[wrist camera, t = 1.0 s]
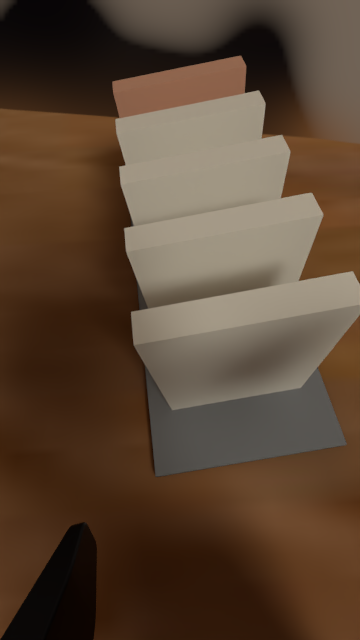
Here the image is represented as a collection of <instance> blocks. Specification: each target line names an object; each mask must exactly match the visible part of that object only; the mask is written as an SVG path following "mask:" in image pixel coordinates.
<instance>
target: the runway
mask: <svg viewBox="0 0 360 640" xmlns="http://www.w3.org/2000/svg"><path fill="white" fill-rule="evenodd" d="M131 226H132V227H133V226H134V224H133V221H132V218H131ZM137 288H138V299H139V309H140V310H144V309H148V307H147V304H146V302H145V299H144V297H143V294H142V291H141V289H140V286H139V284H138V281H137ZM145 371H146V382H147V392H148V403H149V413H150V423H151V434H152V444H153V455H154V465H155V475H156V477H160V476H166V475H172V474H177V473H183V472H189V471H195V470H201V469H207V468H213V467H219V466H225V465H231V464H237V463H243V462H249V461H255V460H261V459H267V458H273V457H278V456H284V455H290V454H296V453H302V452H308V451H314V450H320V449H326V448H332V447H338V446H344V445H347V444H346V441H345V438H344V436H343V433H342V430H341V428H340V425H339V422H338V420H337V417H336V415H335V412H334V409H333V407H332V404H331V401H330V399H329V396H328V393H327V391H326V388H325V386H324V383H323V380H322V378H321V375H320V372H319V370H318V367H317V368H316V370H315V371H314V372H313V373H312V375H311V376H310V377H309V378H308V380H307V381H306V382H305V383H304V385H303V386H302V387H301V388H297V389H292V390H286V391H280V392H274V393H269V394H263V395H257V396H251V397H246V398H240V399H234V400H228V401H223V402H217V403H211V404H205V405H199V406H194V407H188V408H182V409H176V410H172V409H171V408H170V406H169V404H168V403H167V401H166V399H165V397H164V396H163V394H162V392H161V391H160V389H159V387H158V386H157V384H156V382H155V381H154V379H153V377H152V376H151V374H150V372H149V371H148V369H147V367H146V365H145Z"/></svg>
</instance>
